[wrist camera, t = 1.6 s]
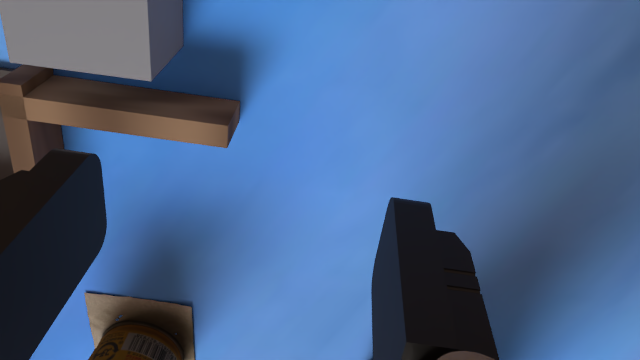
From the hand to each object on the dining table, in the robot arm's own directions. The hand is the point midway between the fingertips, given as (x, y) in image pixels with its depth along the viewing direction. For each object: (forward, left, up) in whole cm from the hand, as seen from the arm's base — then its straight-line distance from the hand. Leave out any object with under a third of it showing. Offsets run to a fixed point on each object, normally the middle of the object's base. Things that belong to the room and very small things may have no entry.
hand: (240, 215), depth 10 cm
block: (+9, 0, -18) cm, 20 cm away
